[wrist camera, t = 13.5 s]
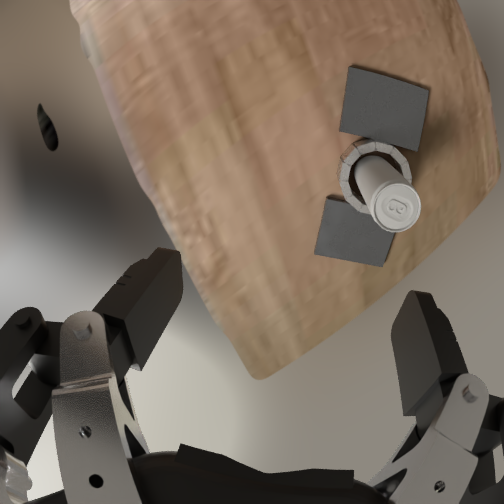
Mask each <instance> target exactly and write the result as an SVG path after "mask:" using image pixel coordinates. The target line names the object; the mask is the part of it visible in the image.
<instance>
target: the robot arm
mask: <svg viewBox="0 0 504 504" xmlns="http://www.w3.org/2000/svg"><path fill="white" fill-rule="evenodd" d="M182 294H183V279H182V264H181V254H180V252H179V251H177V250H171V249H166V248H160V247H158V248H157V249H156V250H155V251H154V252H153V253H152V254H151V255H150V257H149V258H148V259H141V260H140V261H138V262H136V263H134V264H133V265H131V266H130V267H129V268H128V269H127V271H125V273H124V274H123V276H121V277H120V278H119V279H118V280H117V282H116V284H114V285H113V286H112V287H111V289H110V290H109V291H108V292H107V293H106V294H105V296H104V297H103V298H102V299H101V300H100V301H99V303H98V304H97V305H96V306H95V307H94V309H93V310H92V311H80V312H77V313H75V314H73V315H71V316H70V317H68V318H67V319H66V320H65V321H64V322H50V321H44V318H43V316H42V314H41V312H40V311H39V310H38V309H37V308H34V307H26V308H22V309H20V310H18V311H17V312H15V313H14V314H13V315H12V316H11V317H10V318H9V320H8V321H7V322H6V323H5V324H4V326H3V327H2V328H1V329H0V504H504V476H503V478H502V479H501V480H500V481H499V482H498V483H496V480H495V468H494V458H493V449H495V448H496V447H497V446H499V445H500V444H502V448H503V455H504V398H500V397H497V396H493V395H490V394H489V393H488V390H487V387H486V386H485V384H484V382H483V381H482V380H481V379H480V378H478V377H477V376H475V375H473V374H469V373H468V370H467V367H466V364H465V361H464V358H463V356H462V352H461V350H460V347H459V344H458V342H456V337H455V334H454V332H453V329H452V327H451V324H450V322H449V320H448V318H447V317H446V316H445V314H444V313H443V312H442V311H441V310H440V309H439V308H437V306H436V304H435V301H434V299H433V297H432V295H431V294H430V293H427V292H420V291H413V290H411V291H410V292H409V293H408V294H407V296H406V298H405V300H404V302H403V304H402V307H401V309H400V311H399V313H398V315H397V317H396V319H395V321H394V323H393V326H392V330H391V341H392V346H393V351H394V356H395V362H396V367H397V373H398V379H399V386H400V393H401V400H402V408H403V416H416V422H415V423H414V424H413V425H412V427H411V428H410V430H409V431H408V433H407V434H406V436H405V437H404V439H403V441H402V442H401V444H400V445H399V447H398V448H397V449H396V451H395V452H394V454H393V455H392V457H391V458H390V459H389V461H388V462H387V463H386V465H385V466H384V467H383V468H382V469H381V470H380V471H379V472H378V473H377V474H376V475H375V476H374V477H373V478H372V479H371V480H370V481H369V482H368V483H367V484H365V483H363V482H360V481H358V480H355V479H354V470H329V469H307V470H299V471H291V472H282V473H263V472H261V471H258V470H256V469H253V468H251V467H248V466H246V465H244V464H242V463H239V462H237V461H235V460H233V459H231V458H229V457H227V456H224V455H222V454H217V453H214V452H209V451H205V450H202V449H198V448H194V447H191V446H188V445H184V444H180V446H179V449H178V452H176V451H164V452H163V451H162V452H155V453H150V452H149V449H148V446H147V443H146V441H145V439H144V436H143V434H142V432H141V430H140V427H139V424H138V421H137V417H136V414H135V410H134V407H133V403H132V399H131V395H130V391H129V387H128V383H127V378H126V376H125V375H126V373H127V371H128V370H129V368H133V369H135V370H138V371H142V369H143V367H144V365H145V364H146V362H147V360H148V358H149V356H150V354H151V353H152V351H153V349H154V347H155V345H156V344H157V342H158V340H159V338H160V337H161V335H162V333H163V331H164V330H165V328H166V326H167V324H168V322H169V321H170V319H171V317H172V315H173V314H174V312H175V310H176V308H177V307H178V305H179V303H180V301H181V298H182ZM27 364H28V365H29V367H30V368H31V369H32V371H31V372H30V374H29V375H28V377H27V378H26V380H25V381H24V383H23V385H22V386H21V388H20V390H19V391H18V393H17V395H16V397H15V398H14V399H13V397H12V388H13V386H14V384H15V382H16V381H17V379H18V378H19V376H20V374H21V373H22V371H23V370H24V368H25V367H26V365H27ZM52 413H53V423H54V432H55V440H56V448H57V455H58V460H59V466H60V472H61V477H62V481H63V486H64V489H63V490H61V491H58V492H55V493H53V494H50V495H47V496H44V497H41V498H38V499H35V500H32V501H28V498H27V490H30V489H31V487H32V481H31V478H30V477H29V476H28V471H27V469H26V467H27V464H28V462H29V460H30V458H31V456H32V453H33V451H34V449H35V447H36V445H37V443H38V441H39V439H40V437H41V435H42V433H43V431H44V429H45V427H46V425H47V423H48V421H49V419H50V417H51V415H52Z"/></svg>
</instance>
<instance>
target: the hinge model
mask: <svg viewBox="0 0 504 504" xmlns="http://www.w3.org/2000/svg"><path fill="white" fill-rule="evenodd" d="M428 93H429V90H426V89H423V88H420V87H418V86H415V85H412V84H409V83H406V82H403V81H400V80H397V79H393V78H390V77H387V76H383V75H380V74H376V73H373V72H369V71H365V70H361V69H357V68H352V67H348V73H347V81H346V88H345V95H344V102H343V109H342V115H341V121H340V127H339V131H341V132H345V133H350V134H354V135H358V136H363V137H367V139H364V140H361V141H357V142H354V143H353V144H354V145H353V144H351V145H350V146H349V147H348V148H347V150H346V151H345V152H344V153H343V154H342V155H341V158H340V160H339V165H338V171H337V177H338V180H339V183H340V186H341V189H342V192H343V195H344V198H345V199H346V201H344V200H339V199H334V198H329V197H326V201H325V206H324V211H323V215H322V220H321V224H320V229H319V233H318V238H317V242H316V246H315V250H314V254H315V255H321V256H326V257H331V258H337V259H342V260H347V261H353V262H358V263H363V264H368V265H374V266H379V267H383V264H384V261H385V259H386V256H387V253H388V251H389V248H390V245H391V242H392V239H393V236H394V233H395V232H390V231H386V230H385V229H383V228H381V227H380V226H379V225H378V224H377V223H376V222H375V221H374V219H373V217H372V215H371V213H370V211H369V209H368V206H367V204H366V202H365V200H364V198H363V197H361V196H359V195H357V194H356V193H355V192H354V191H353V190H352V189H351V188H350V186H349V183H348V178H349V173H350V168H351V165H352V164H353V163H354V162H355V161H356V160H357V159H358V158H359V157H360V156H361V155H362V154H365V153H369V152H372V151H380V152H384V153H387V154H389V155H390V156H391V157H392V158H393V159H394V162H395V166H396V169H397V171H398V172H399V173H400V174H401V175H402V176H403V177H404V178H405V179H406V180H407V181H408V182H409V183H410V184H411V182H412V180H411V179H412V176H411V172H410V168H409V164H408V161H407V159H406V158H405V157H404V156H403V155H402V154H401V153H400V152H399V151H398V150H397V149H396V148H395V147H394V146H392V145H391V144H393V145H397V146H400V147H403V148H407V149H410V150H413V151H416V152H418V147H419V143H420V138H421V133H422V128H423V123H424V117H425V112H426V106H427V100H428ZM370 138H371V139H370ZM389 143H390V144H389Z"/></svg>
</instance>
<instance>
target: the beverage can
mask: <svg viewBox="0 0 504 504" xmlns="http://www.w3.org/2000/svg"><path fill="white" fill-rule="evenodd" d="M354 177H355V180H356V183H357V185H358V187H359V189H360V191H361V194H362V196H363V198H364V200H365V202H366V204H367V206H368V209H369V211H370V213H371V215H372V217H373V219H374V221H375V222H376V223H377V224H378V225H379V226H380V227H381V228H383V229H385V230H386V231H390V232H401V231H405V230H407V229H408V228H410V227H411V226H412V225H413V224H415V222H416V221H417V219H418V217H419V215H420V211H421V202H420V198H419V195H418V193H417V191H416V189H415V188H414V187H413V186H412V185H411V184H410V183H409V182H408V181H407V180H406V179H405V178H404V177H403V176H402V175H401V174H400V173H399V172H398V171H397V170H396V169H395V168H394V167H392V166H391V165H390V164H389V163H388V162H387V161H386V160H385V159H383V158H382V157H380V156H366V157H364V158H362V159H360V160H359V161H358V162H357V164H356V166H355V169H354Z"/></svg>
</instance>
